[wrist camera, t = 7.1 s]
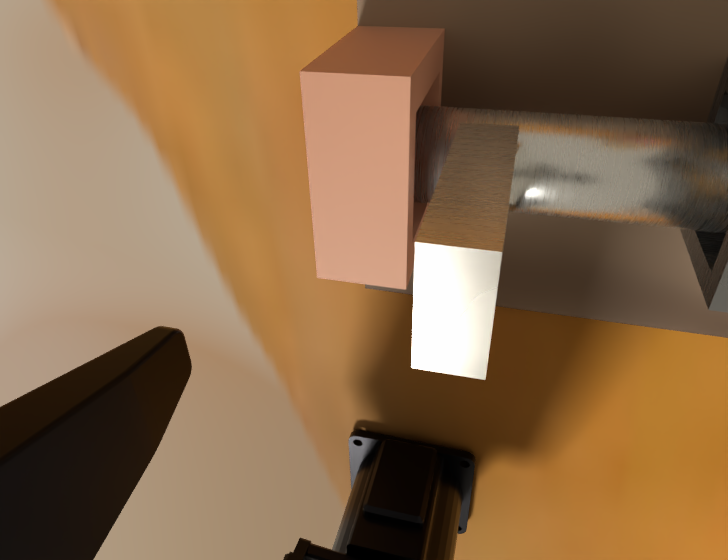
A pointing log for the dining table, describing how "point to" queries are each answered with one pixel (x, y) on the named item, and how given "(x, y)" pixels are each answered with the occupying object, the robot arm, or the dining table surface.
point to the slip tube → (539, 203)
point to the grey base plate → (594, 98)
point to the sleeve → (712, 249)
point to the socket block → (368, 150)
